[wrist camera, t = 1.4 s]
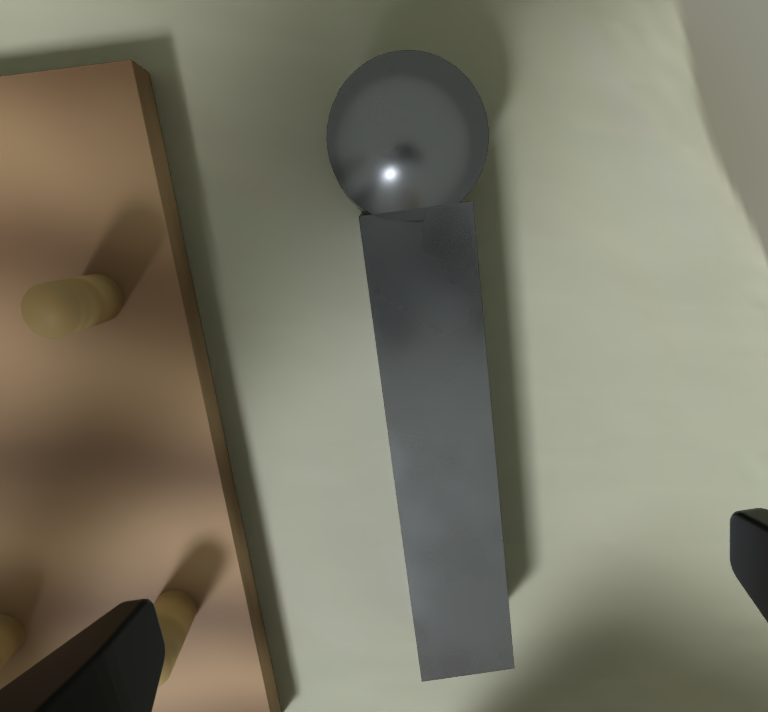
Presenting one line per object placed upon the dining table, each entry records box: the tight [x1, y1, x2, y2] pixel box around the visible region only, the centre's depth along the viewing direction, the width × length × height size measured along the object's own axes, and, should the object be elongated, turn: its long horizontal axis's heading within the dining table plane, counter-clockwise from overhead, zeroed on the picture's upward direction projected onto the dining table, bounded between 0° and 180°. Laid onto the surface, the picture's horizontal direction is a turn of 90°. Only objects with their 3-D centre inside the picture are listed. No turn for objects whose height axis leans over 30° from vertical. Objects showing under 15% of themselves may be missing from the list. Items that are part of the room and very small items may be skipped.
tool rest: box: [0, 60, 281, 712], centre depth 19 cm, size 26×12×4 cm, turn 7°
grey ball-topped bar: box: [327, 50, 514, 682], centre depth 20 cm, size 21×5×3 cm, turn 7°
